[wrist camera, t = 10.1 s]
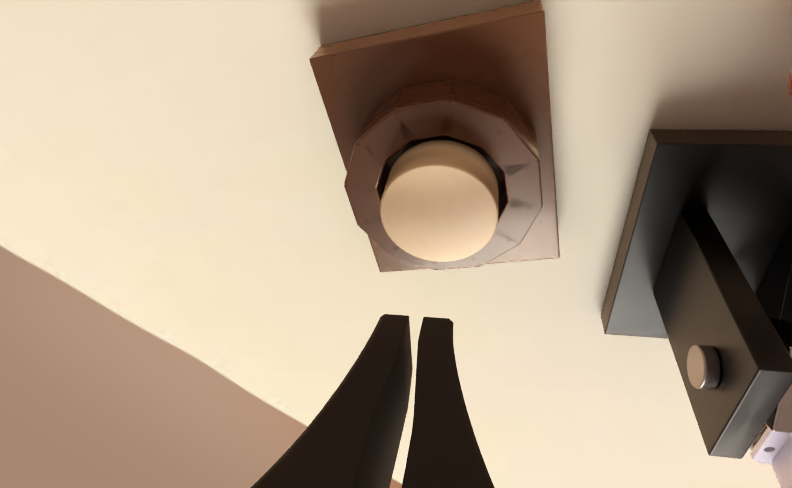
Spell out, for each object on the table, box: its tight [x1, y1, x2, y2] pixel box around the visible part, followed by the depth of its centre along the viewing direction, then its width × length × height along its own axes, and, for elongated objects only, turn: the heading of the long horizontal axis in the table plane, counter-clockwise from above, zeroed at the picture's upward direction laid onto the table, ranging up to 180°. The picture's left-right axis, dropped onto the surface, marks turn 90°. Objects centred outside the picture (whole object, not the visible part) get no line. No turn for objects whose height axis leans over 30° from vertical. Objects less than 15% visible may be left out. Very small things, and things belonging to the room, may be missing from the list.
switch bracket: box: [601, 130, 792, 459], centre depth 18 cm, size 10×8×9 cm
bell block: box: [310, 0, 560, 272], centre depth 19 cm, size 10×8×4 cm
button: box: [380, 140, 499, 262], centre depth 18 cm, size 4×4×2 cm
